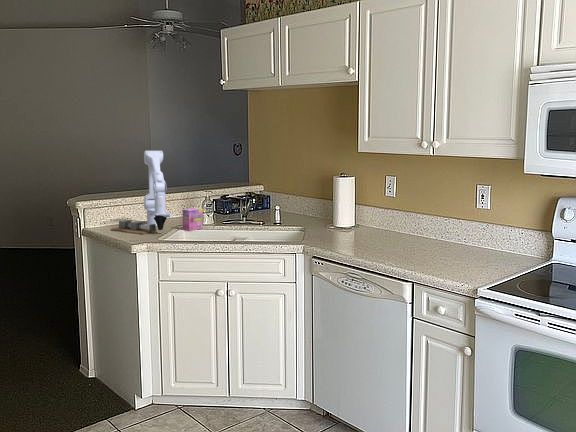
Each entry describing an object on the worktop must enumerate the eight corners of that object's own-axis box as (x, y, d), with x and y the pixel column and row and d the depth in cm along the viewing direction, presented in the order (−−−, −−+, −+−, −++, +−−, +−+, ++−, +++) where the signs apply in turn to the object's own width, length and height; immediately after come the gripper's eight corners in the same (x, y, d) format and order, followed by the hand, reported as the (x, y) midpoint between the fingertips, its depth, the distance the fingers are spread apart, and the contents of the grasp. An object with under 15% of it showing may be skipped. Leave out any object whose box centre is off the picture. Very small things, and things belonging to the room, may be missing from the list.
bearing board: (125, 226, 330) (125, 218, 329) (156, 230, 321) (156, 222, 320) (110, 230, 320) (110, 221, 319) (142, 234, 310) (142, 225, 309)
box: (189, 231, 321) (189, 210, 319) (182, 230, 325) (182, 209, 323) (203, 228, 330) (203, 208, 328) (196, 227, 333) (195, 207, 331)
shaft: (127, 226, 324) (127, 220, 324) (155, 230, 316) (155, 224, 315) (122, 228, 321) (122, 221, 320) (151, 231, 312) (151, 225, 312)
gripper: (144, 204, 309) (144, 229, 311) (166, 206, 303) (166, 232, 305) (152, 202, 315) (153, 227, 318) (174, 205, 309) (175, 230, 311)
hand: (160, 229), depth 312 cm, fingers closed
